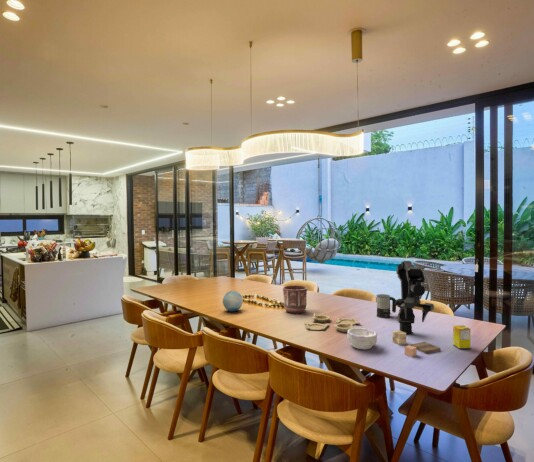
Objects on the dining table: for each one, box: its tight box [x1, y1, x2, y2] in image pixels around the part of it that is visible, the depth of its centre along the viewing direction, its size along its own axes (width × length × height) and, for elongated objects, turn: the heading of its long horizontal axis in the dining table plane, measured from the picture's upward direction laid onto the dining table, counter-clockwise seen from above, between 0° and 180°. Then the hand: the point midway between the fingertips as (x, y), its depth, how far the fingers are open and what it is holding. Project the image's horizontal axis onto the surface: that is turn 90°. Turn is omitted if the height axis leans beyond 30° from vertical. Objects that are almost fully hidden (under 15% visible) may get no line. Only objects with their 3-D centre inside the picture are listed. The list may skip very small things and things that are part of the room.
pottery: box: [282, 284, 308, 315], centre depth 253 cm, size 18×18×18 cm
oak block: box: [392, 329, 407, 346], centre depth 186 cm, size 5×5×6 cm
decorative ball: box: [222, 290, 244, 312], centre depth 255 cm, size 15×15×15 cm
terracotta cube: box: [404, 344, 418, 358], centre depth 170 cm, size 4×4×4 cm
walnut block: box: [410, 341, 441, 355], centre depth 178 cm, size 10×10×2 cm
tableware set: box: [303, 312, 361, 333], centre depth 219 cm, size 35×29×4 cm
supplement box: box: [452, 324, 471, 350], centre depth 179 cm, size 6×6×11 cm
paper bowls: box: [346, 327, 378, 350], centre depth 182 cm, size 15×15×8 cm
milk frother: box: [376, 293, 397, 319], centre depth 242 cm, size 14×16×15 cm
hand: (413, 320), depth 183 cm, fingers open, 9 cm apart
